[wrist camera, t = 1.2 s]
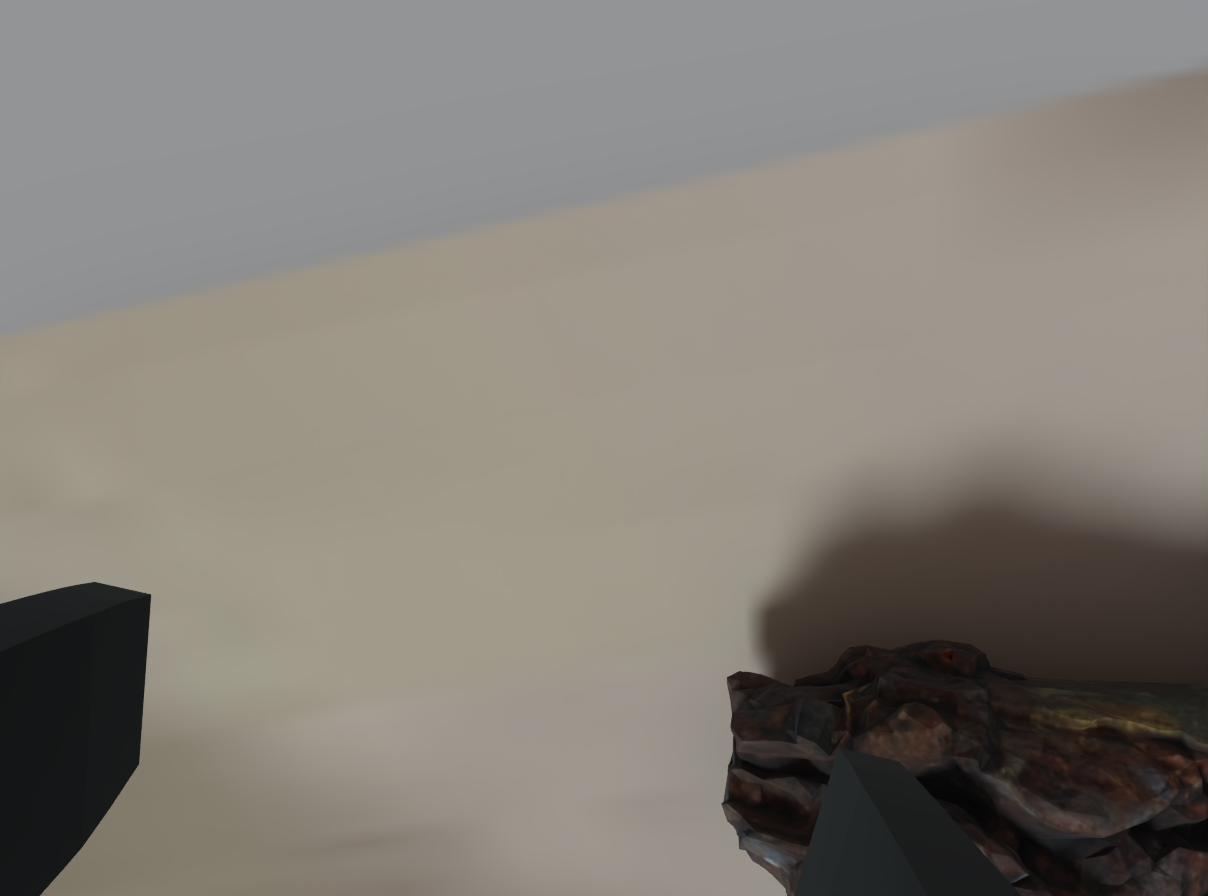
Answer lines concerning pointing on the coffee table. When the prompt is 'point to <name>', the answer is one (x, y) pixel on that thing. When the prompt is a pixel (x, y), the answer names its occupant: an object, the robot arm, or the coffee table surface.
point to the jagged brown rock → (986, 766)
